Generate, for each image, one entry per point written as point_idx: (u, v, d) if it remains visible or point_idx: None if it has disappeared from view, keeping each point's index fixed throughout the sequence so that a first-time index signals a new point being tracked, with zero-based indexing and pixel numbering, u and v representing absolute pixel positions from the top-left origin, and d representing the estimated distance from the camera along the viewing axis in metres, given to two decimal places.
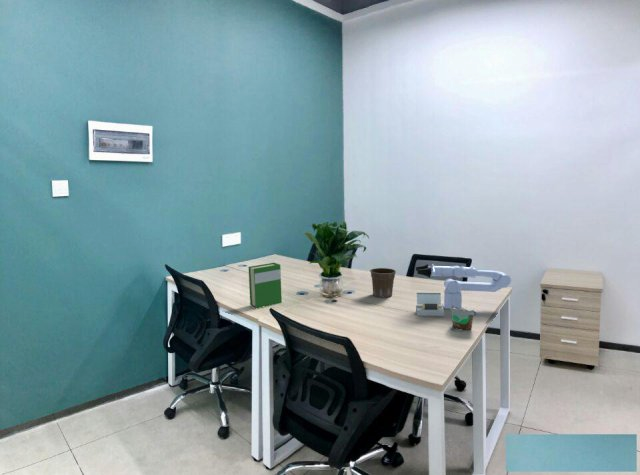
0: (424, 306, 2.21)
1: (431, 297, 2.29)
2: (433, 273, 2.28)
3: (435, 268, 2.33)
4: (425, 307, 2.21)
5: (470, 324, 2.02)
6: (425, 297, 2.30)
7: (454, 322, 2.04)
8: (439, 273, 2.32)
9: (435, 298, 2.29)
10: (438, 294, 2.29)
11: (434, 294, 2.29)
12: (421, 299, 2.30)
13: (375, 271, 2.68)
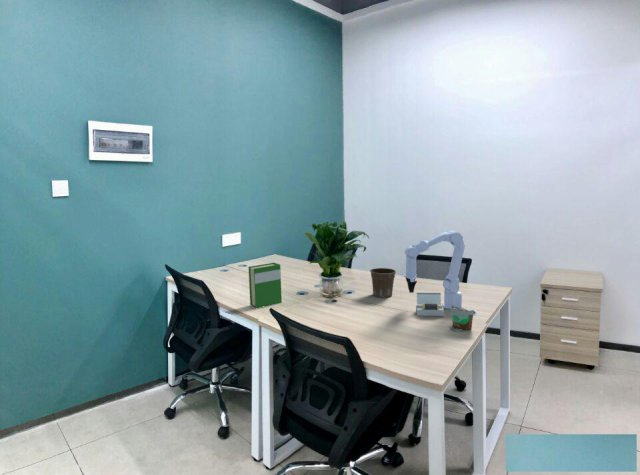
0: (424, 306, 2.21)
1: (431, 297, 2.29)
2: (412, 280, 2.25)
3: (408, 274, 2.30)
4: (425, 307, 2.21)
5: (470, 324, 2.02)
6: (425, 297, 2.30)
7: (454, 322, 2.04)
8: (413, 271, 2.29)
9: (435, 298, 2.29)
10: (438, 294, 2.29)
11: (434, 294, 2.29)
12: (421, 299, 2.30)
13: (375, 271, 2.68)
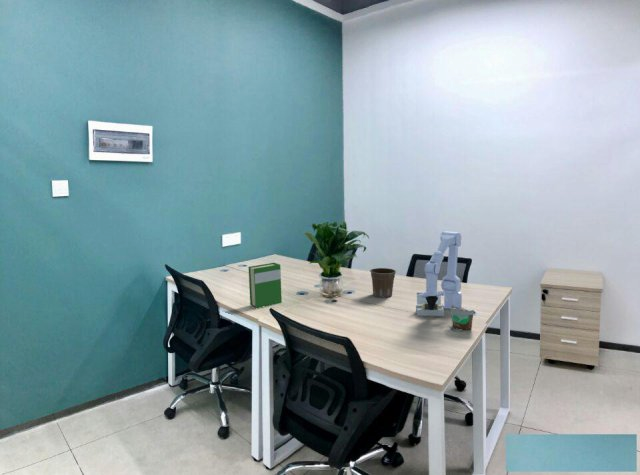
0: (424, 306, 2.22)
1: None
2: (419, 295, 2.17)
3: None
4: (425, 307, 2.22)
5: (470, 324, 2.02)
6: None
7: (454, 322, 2.04)
8: (428, 288, 2.17)
9: None
10: None
11: None
12: (421, 299, 2.30)
13: (375, 271, 2.68)
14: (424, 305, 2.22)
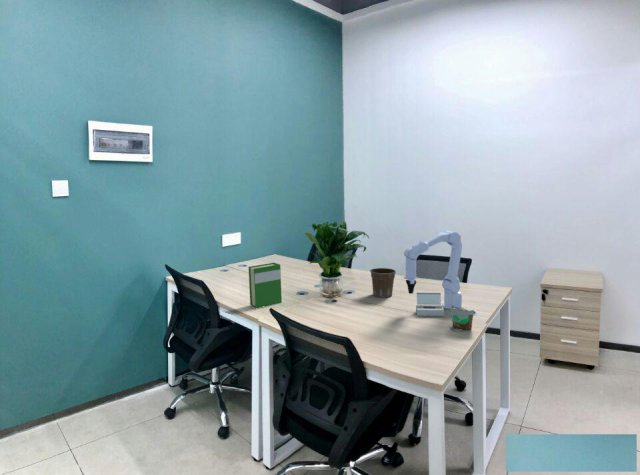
0: None
1: (431, 297, 2.29)
2: (412, 282, 2.22)
3: (407, 276, 2.27)
4: (423, 307, 2.27)
5: (470, 324, 2.02)
6: (425, 297, 2.30)
7: (454, 322, 2.04)
8: (413, 272, 2.25)
9: (435, 298, 2.29)
10: (438, 294, 2.29)
11: (434, 294, 2.29)
12: (421, 299, 2.30)
13: (375, 271, 2.68)
14: None
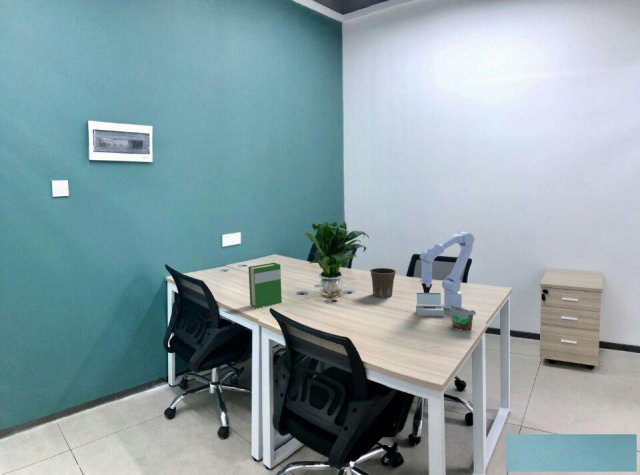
0: None
1: (431, 297, 2.29)
2: (428, 285, 2.23)
3: (423, 279, 2.28)
4: (423, 307, 2.27)
5: (470, 324, 2.02)
6: (425, 297, 2.30)
7: (454, 322, 2.04)
8: (428, 275, 2.27)
9: (435, 298, 2.29)
10: (438, 294, 2.29)
11: (434, 294, 2.29)
12: (421, 299, 2.30)
13: (375, 271, 2.68)
14: None
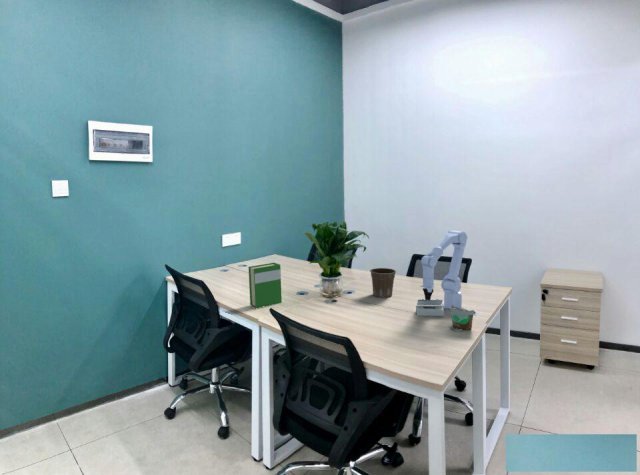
0: None
1: (432, 302, 2.25)
2: (429, 290, 2.18)
3: (425, 284, 2.23)
4: (423, 307, 2.27)
5: (470, 324, 2.02)
6: (426, 302, 2.26)
7: (454, 322, 2.04)
8: (430, 280, 2.22)
9: (436, 303, 2.26)
10: (440, 301, 2.23)
11: (436, 301, 2.24)
12: (422, 303, 2.27)
13: (375, 271, 2.68)
14: None
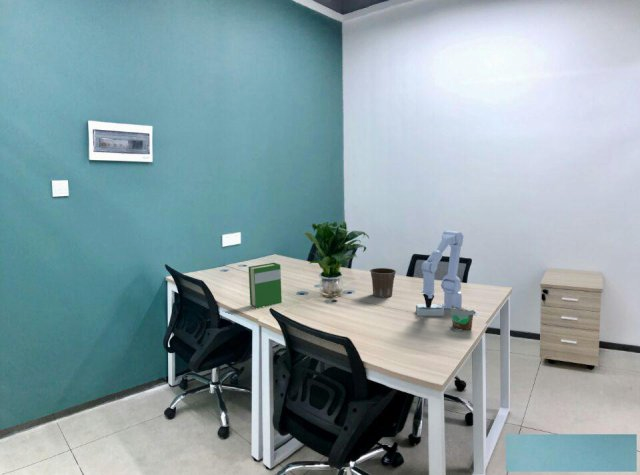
0: None
1: None
2: (430, 296, 2.16)
3: (425, 290, 2.21)
4: None
5: (470, 324, 2.02)
6: None
7: (454, 322, 2.04)
8: (431, 286, 2.20)
9: None
10: None
11: None
12: None
13: (375, 271, 2.68)
14: None
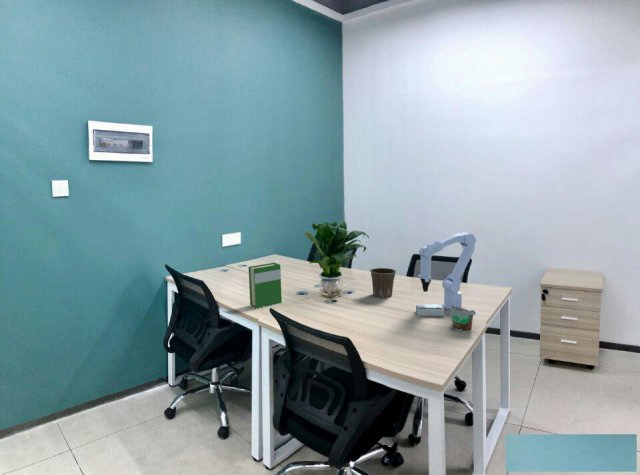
0: None
1: None
2: (427, 280, 2.24)
3: (422, 274, 2.29)
4: None
5: (470, 324, 2.02)
6: None
7: (454, 322, 2.04)
8: (427, 271, 2.28)
9: None
10: None
11: None
12: None
13: (375, 271, 2.68)
14: None
